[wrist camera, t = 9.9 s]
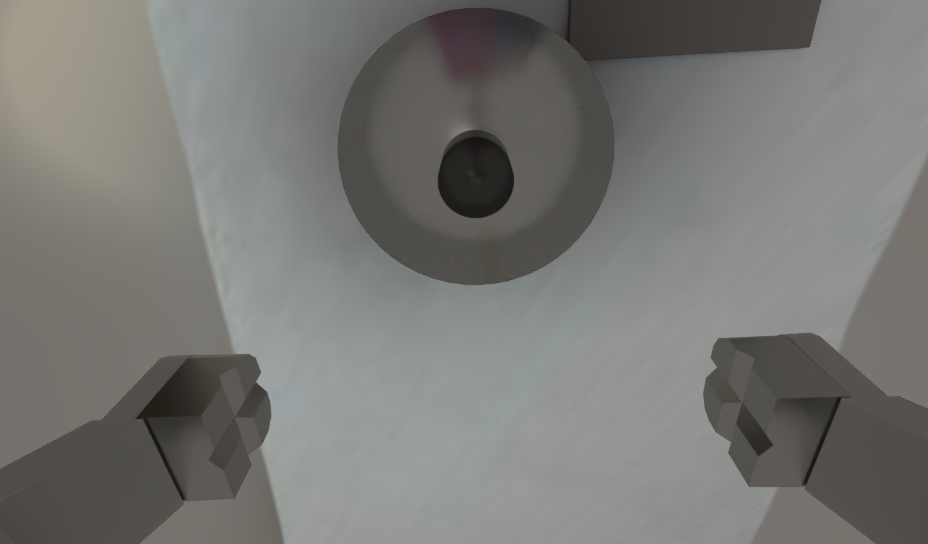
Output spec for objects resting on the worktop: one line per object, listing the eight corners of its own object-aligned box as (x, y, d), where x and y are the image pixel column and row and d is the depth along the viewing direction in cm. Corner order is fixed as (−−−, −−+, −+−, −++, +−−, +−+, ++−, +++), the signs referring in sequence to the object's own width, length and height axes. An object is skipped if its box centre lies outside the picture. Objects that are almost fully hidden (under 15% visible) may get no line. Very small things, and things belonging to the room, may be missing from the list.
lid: (318, 17, 21) (288, 15, 17) (622, -1, 20) (652, -8, 17) (363, 282, 26) (347, 319, 23) (599, 273, 26) (618, 309, 23)
